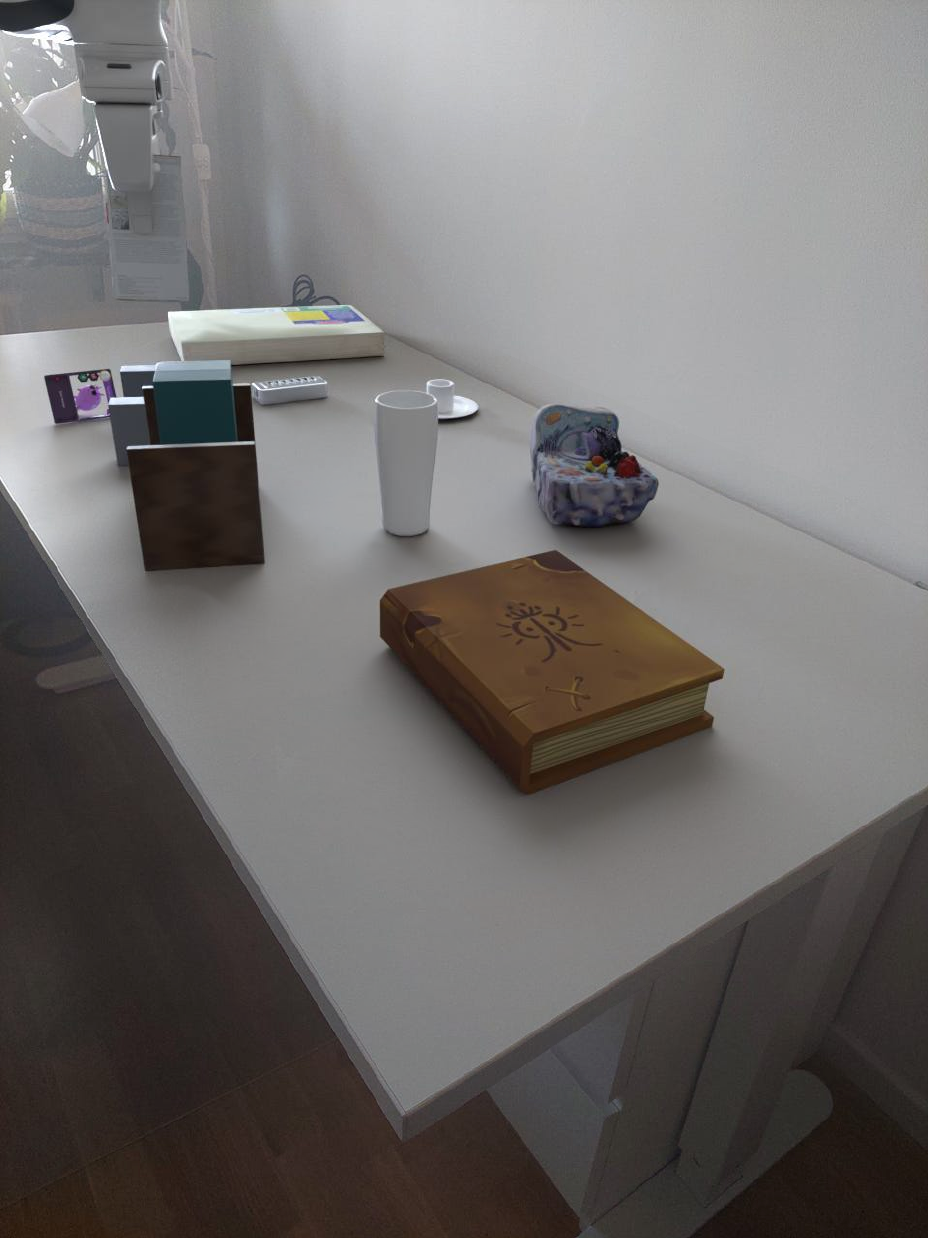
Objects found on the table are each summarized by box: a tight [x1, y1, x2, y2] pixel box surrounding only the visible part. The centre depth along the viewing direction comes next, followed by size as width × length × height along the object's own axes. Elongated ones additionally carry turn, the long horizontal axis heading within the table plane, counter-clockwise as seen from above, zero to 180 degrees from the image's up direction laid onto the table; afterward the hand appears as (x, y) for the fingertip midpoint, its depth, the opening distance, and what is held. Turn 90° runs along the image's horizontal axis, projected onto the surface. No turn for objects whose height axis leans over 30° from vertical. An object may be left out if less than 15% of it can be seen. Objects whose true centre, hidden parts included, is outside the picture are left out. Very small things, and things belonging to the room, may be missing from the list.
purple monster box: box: [43, 368, 118, 425], centre depth 135 cm, size 7×5×9 cm
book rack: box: [126, 382, 265, 572], centre depth 102 cm, size 12×21×13 cm, turn 12°
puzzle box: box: [167, 304, 386, 366], centre depth 173 cm, size 36×5×24 cm
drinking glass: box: [374, 389, 439, 537], centre depth 103 cm, size 7×7×15 cm
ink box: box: [103, 154, 191, 303], centre depth 100 cm, size 4×8×15 cm, turn 108°
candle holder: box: [426, 378, 479, 420], centre depth 143 cm, size 12×12×4 cm
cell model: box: [529, 403, 660, 528], centre depth 111 cm, size 13×11×20 cm
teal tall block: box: [153, 360, 238, 445], centre depth 106 cm, size 8×8×15 cm
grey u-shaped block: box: [107, 364, 157, 467], centre depth 126 cm, size 7×18×8 cm, turn 12°
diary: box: [379, 549, 726, 795], centre depth 78 cm, size 23×19×6 cm
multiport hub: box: [252, 375, 329, 406], centre depth 147 cm, size 4×11×2 cm, turn 118°
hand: (146, 229), depth 100 cm, fingers closed on ink box, 4 cm apart
